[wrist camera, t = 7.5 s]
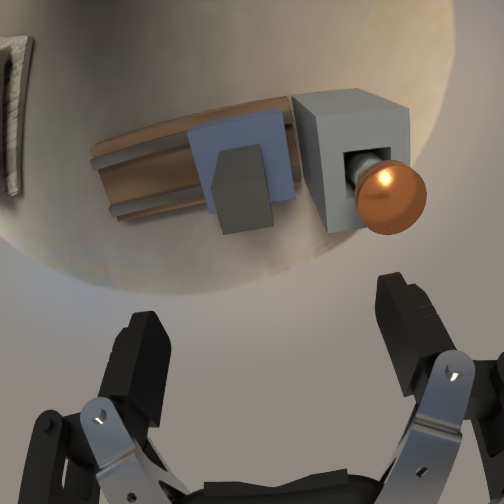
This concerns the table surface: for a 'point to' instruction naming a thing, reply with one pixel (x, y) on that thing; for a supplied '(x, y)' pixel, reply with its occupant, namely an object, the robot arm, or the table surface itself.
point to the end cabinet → (345, 145)
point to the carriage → (243, 167)
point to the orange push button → (385, 192)
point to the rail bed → (168, 162)
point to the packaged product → (12, 108)
